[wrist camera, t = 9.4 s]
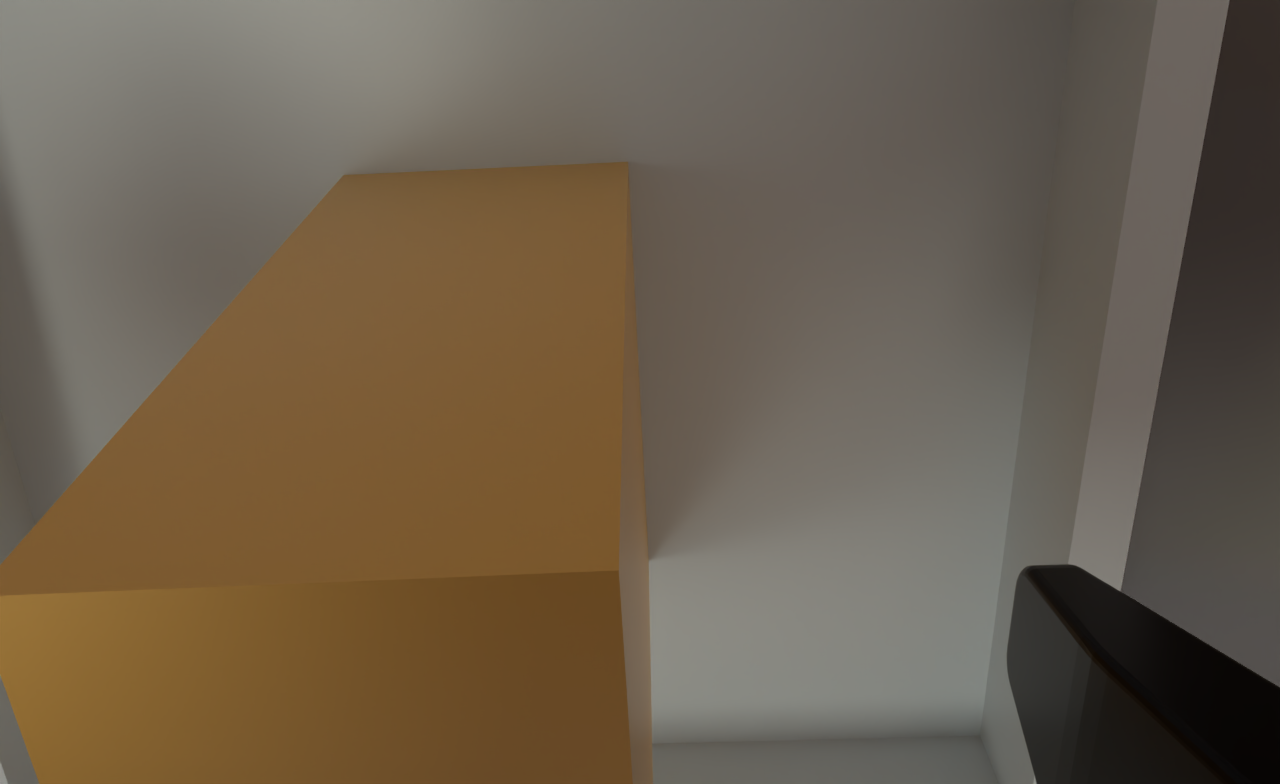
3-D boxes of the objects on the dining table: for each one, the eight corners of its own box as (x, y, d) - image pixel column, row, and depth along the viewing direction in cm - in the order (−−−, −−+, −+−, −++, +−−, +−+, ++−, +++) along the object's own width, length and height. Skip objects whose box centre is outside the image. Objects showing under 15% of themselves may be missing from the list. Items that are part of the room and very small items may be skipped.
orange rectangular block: (407, 571, 14) (200, 1230, 7) (343, 175, 12) (-29, 596, 5) (648, 561, 14) (661, 1214, 7) (628, 162, 12) (620, 570, 5)
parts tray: (89, 759, 16) (1, 906, 14) (-200, -186, 11) (-411, -192, 9) (1006, 737, 16) (1067, 882, 14) (1143, -228, 11) (1274, -246, 9)
